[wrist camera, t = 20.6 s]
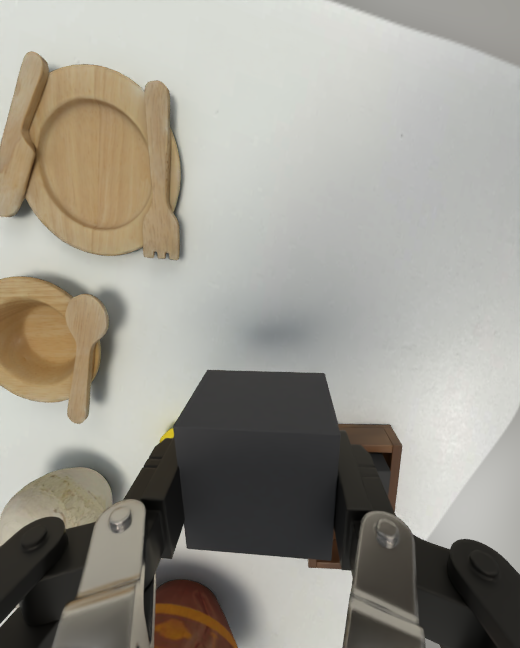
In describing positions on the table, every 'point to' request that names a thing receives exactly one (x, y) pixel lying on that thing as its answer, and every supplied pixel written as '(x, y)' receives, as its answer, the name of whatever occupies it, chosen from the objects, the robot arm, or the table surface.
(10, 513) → the decorative object
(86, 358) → the tableware set
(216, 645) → the jug
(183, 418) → the pad left
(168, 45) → the table surface
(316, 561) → the back frame
